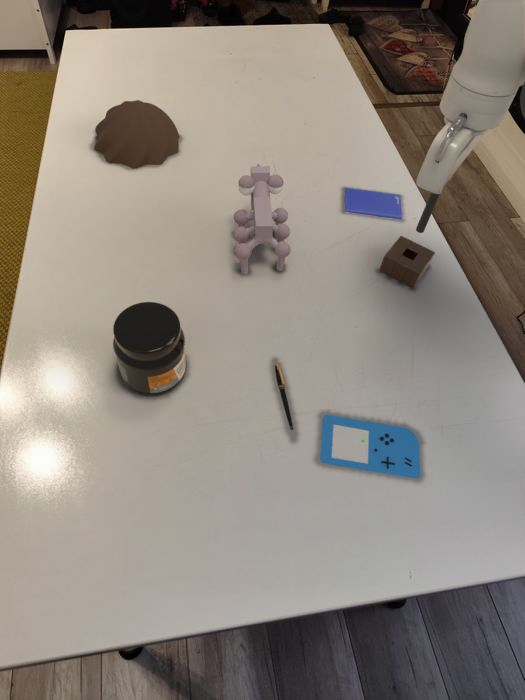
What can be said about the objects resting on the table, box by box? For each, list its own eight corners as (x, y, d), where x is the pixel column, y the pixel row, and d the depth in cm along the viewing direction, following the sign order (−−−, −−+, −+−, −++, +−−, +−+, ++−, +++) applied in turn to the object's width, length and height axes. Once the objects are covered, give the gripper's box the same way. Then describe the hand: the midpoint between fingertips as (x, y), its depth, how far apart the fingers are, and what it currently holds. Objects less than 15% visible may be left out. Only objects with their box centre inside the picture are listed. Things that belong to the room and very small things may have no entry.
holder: (426, 270, 104) (435, 252, 99) (411, 292, 100) (419, 273, 96) (393, 254, 106) (400, 235, 102) (377, 274, 102) (384, 256, 98)
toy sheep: (230, 209, 110) (232, 152, 99) (280, 210, 111) (288, 154, 100) (233, 278, 98) (236, 222, 87) (289, 279, 99) (299, 223, 88)
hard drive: (400, 193, 115) (345, 186, 115) (402, 217, 110) (344, 210, 110) (398, 199, 116) (343, 192, 116) (400, 223, 111) (343, 215, 111)
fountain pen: (297, 441, 79) (298, 437, 78) (289, 442, 79) (291, 438, 78) (278, 364, 87) (279, 359, 86) (271, 365, 87) (272, 360, 86)
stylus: (425, 230, 89) (453, 164, 79) (421, 234, 89) (450, 168, 78) (417, 226, 90) (445, 160, 79) (414, 230, 89) (441, 164, 79)
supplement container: (197, 384, 84) (196, 339, 74) (135, 410, 80) (125, 366, 70) (170, 337, 89) (166, 289, 79) (111, 359, 85) (98, 312, 75)
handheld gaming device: (421, 478, 76) (319, 461, 76) (418, 481, 77) (318, 465, 77) (419, 428, 81) (323, 413, 81) (416, 431, 82) (322, 416, 82)
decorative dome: (156, 115, 128) (153, 74, 120) (195, 158, 119) (194, 116, 111) (81, 134, 121) (71, 92, 113) (116, 181, 112) (109, 139, 104)
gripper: (470, 143, 64) (432, 229, 76) (519, 81, 75) (479, 165, 86) (424, 124, 66) (393, 211, 77) (478, 66, 77) (444, 150, 88)
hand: (439, 186), depth 82 cm, fingers closed on stylus, 1 cm apart
